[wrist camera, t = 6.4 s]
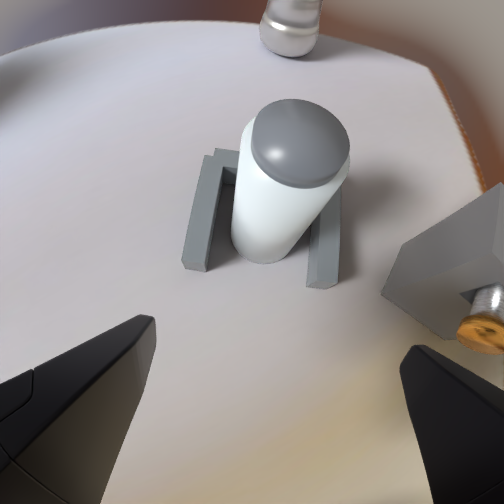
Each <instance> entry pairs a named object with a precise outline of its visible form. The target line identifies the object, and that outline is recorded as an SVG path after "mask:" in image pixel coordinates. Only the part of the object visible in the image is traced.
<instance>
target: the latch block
mask: <svg viewBox="0 0 504 504" xmlns="http://www.w3.org/2000/svg"><path fill="white" fill-rule="evenodd" d="M495 282H500V283H501V284H502V285H503V286H504V185H503V184H502V183H501V182H500V183H499V184H497V185H496V186H494V187H493V188H491V189H490V190H488V191H487V192H486V193H484V194H483V195H481V196H480V197H478V198H477V199H475V200H474V201H472V202H470V203H469V204H467V205H466V206H464V207H463V208H461V209H460V210H458V211H457V212H455V213H453V214H452V215H450V216H449V217H447V218H445V219H444V220H442V221H441V222H439V223H437V224H436V225H434V226H433V227H431V228H429V229H428V230H426V231H424V232H423V233H421V234H419V235H418V236H416V237H414V238H413V239H411V240H409V241H408V242H406V243H404V244H403V245H402V247H401V250H400V252H399V254H398V257H397V259H396V261H395V264H394V266H393V268H392V271H391V273H390V275H389V277H388V280H387V282H386V284H385V286H384V288H383V291H382V293H381V295H383V296H384V297H385V298H387V299H388V300H390V301H391V302H393V303H394V304H395V305H397V306H398V307H400V308H401V309H402V310H404V311H405V312H407V313H408V314H410V315H411V316H412V317H414V318H415V319H416V320H418V321H419V322H421V323H422V324H423V325H425V326H426V327H428V328H429V329H430V330H432V331H433V332H434V333H436V334H437V335H438V336H440V337H441V338H443V339H444V340H452V339H457V336H456V333H457V331H458V328H459V325H460V322H461V320H462V319H463V318H464V317H466V316H469V314H470V311H471V307H472V304H473V301H474V297H475V294H476V290H477V288H479V287H482V286H486V285H489V284H492V283H495Z"/></svg>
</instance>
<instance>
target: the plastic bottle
mask: <svg viewBox="0 0 504 504" xmlns="http://www.w3.org/2000/svg"><path fill="white" fill-rule="evenodd" d="M322 1H323V0H268V4H267V8H266V11H265V12H264V14H263V17H262V20H261V23H260V26H259V30H260V39H261V41H262V42H263V44H264V45H265V47H266V48H267V49H269V50H270V51H272V52H274V53H276V54H279V55H282V56H287V57H300V56H303V55H305V54H307V53H309V52H310V51H311V50H312V49H313V47H314V45H315V44H316V42H317V39H318V32H319V17H320V13H321V7H322Z"/></svg>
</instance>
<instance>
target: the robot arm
mask: <svg viewBox="0 0 504 504" xmlns="http://www.w3.org/2000/svg"><path fill="white" fill-rule="evenodd" d="M155 348H156V324H155V319H154V317H152V316H147V315H142V314H140V315H137V316H135V317H133V318H131V319H129V320H127V321H125V322H123V323H122V324H120V325H118V326H116V327H114V328H112V329H110V330H108V331H106V332H104V333H102V334H100V335H98V336H96V337H94V338H92V339H90V340H88V341H86V342H84V343H82V344H80V345H78V346H76V347H74V348H73V349H71V350H69V351H67V352H65V353H63V354H61V355H59V356H57V357H55V358H53V359H51V360H49V361H47V362H45V363H43V364H41V365H39V366H37V367H35V368H34V371H33V369H30V370H28V371H26V372H24V373H22V374H20V375H18V376H16V377H14V378H12V379H9V380H7V381H5V382H3V383H1V384H0V504H100V503H101V500H102V497H103V494H104V491H105V489H106V486H107V483H108V481H109V478H110V475H111V473H112V470H113V467H114V465H115V462H116V459H117V457H118V454H119V452H120V449H121V447H122V444H123V441H124V439H125V436H126V434H127V431H128V429H129V426H130V424H131V421H132V419H133V417H134V414H135V412H136V409H137V407H138V404H139V402H140V400H141V397H142V394H143V392H144V388H145V385H146V381H147V377H148V373H149V370H150V366H151V362H152V359H153V355H154V352H155ZM400 376H401V380H402V385H403V389H404V394H405V398H406V403H407V407H408V411H409V415H410V418H411V421H412V424H413V428H414V431H415V434H416V438H417V441H418V445H419V448H420V452H421V455H422V459H423V463H424V466H425V470H426V474H427V478H428V482H429V486H430V490H431V495H432V499H433V504H504V391H503V390H501V389H500V388H498V387H496V386H495V385H493V384H491V383H489V382H488V381H486V380H484V379H483V378H481V377H479V376H477V375H476V374H474V373H472V372H471V371H469V370H467V369H465V368H464V367H462V366H460V365H459V364H457V363H455V362H453V361H452V360H450V359H448V358H446V357H445V356H443V355H441V354H440V353H438V352H436V351H434V350H433V349H431V348H429V347H427V346H426V345H413V346H412V347H411V348H410V350H409V351H408V353H407V355H406V356H405V358H404V359H403V361H402V362H401V365H400Z"/></svg>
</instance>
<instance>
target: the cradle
mask: <svg viewBox="0 0 504 504" xmlns="http://www.w3.org/2000/svg"><path fill="white" fill-rule="evenodd" d="M239 154H240V151H233V150H226V149H218V148H215V151H214V156H208V155H205V156H204V160H203V164H202V168H201V172H200V176H199V180H198V184H197V189H196V193H195V197H194V202H193V206H192V211H191V215H190V220H189V225H188V229H187V234H186V239H185V244H184V249H183V254H182V259H181V261H182V263H183V265H184V267H185V269H189V270H196V271H202V272H206V270H207V264H208V258H209V253H210V247H211V241H212V236H213V230H214V225H215V219H216V214H217V209H218V204H219V198H220V193H221V188H222V183H228V184H234V185H236V179H237V171H238V162H239ZM340 217H341V185H340V187H339V188H338V189H337V190H336V192H335V193H334V194H333V196H332V197H331V198H330V200H329V201H328V202H327V204H326V205H325V206H324V207H323V209H322V210H321V211H320V213H319V214H318V215H317V217H316V218H315V219H314V220H313V222H312V223H311V235H310V249H309V261H308V273H307V284H306V287H311V288H318V289H327V288H329V287H331V286H333V285H335V284H337V283H338V268H339V248H340Z"/></svg>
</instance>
